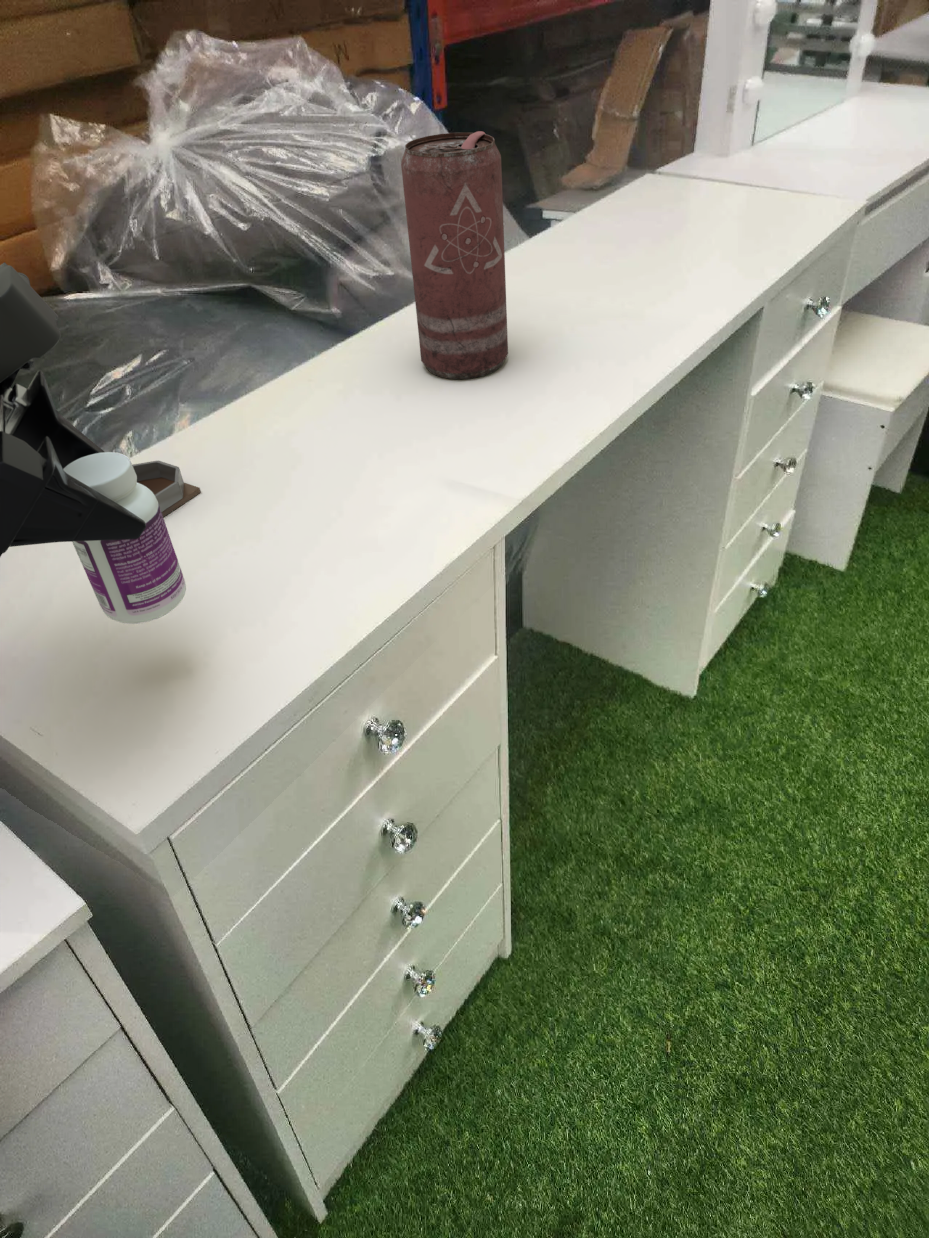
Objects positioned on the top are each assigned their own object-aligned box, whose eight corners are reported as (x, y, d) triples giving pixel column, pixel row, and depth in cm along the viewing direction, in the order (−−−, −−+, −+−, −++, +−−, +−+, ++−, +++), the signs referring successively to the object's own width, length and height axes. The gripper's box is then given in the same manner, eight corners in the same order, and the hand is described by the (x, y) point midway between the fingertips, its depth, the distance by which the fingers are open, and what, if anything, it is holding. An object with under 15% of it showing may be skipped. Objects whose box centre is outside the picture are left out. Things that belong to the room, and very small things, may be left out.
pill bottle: (197, 573, 57) (155, 443, 51) (175, 625, 53) (126, 490, 47) (118, 576, 58) (67, 446, 52) (89, 628, 54) (30, 494, 47)
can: (526, 352, 95) (521, 131, 81) (477, 388, 89) (462, 155, 75) (456, 338, 100) (440, 125, 86) (404, 371, 94) (378, 148, 80)
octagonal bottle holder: (144, 530, 73) (136, 508, 72) (93, 510, 76) (85, 490, 75) (201, 492, 77) (195, 471, 76) (150, 475, 80) (143, 455, 79)
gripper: (-112, 287, 33) (241, 470, 43) (-80, 182, 46) (183, 340, 56) (-229, 516, 36) (127, 638, 46) (-167, 355, 49) (98, 476, 59)
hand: (136, 507), depth 52 cm, fingers closed on pill bottle, 5 cm apart
